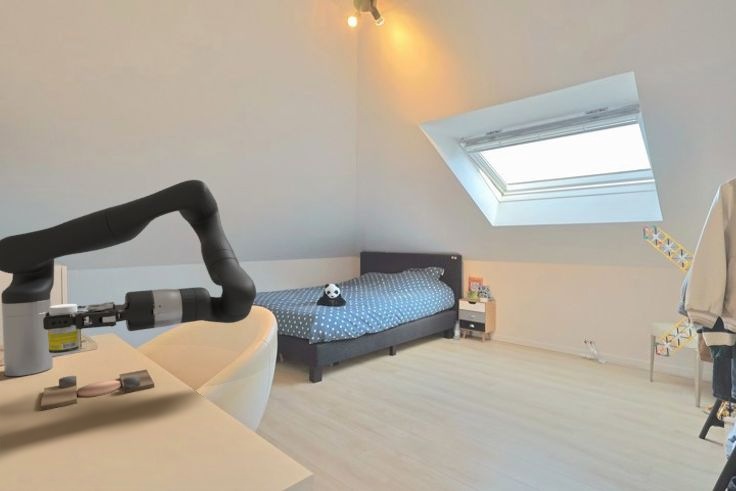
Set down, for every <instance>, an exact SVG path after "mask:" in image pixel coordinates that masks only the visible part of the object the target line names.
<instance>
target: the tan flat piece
mask: <svg viewBox="0 0 736 491" xmlns="http://www.w3.org/2000/svg"><path fill="white" fill-rule="evenodd" d="M118 377H119V380H103V381H98V382H97V381H96V382H94V383H93V382H92V383H88V384H86V385H84V386H81V387H79V388H78V384H77V383H78V382H77V376H76V375H69V376H63V377H60V378H59V379H58V384H57V385H53V386H48V387H44V389H43V392H42V393H43V394H42V398H41V403H40V405H39V406H40V409H39V410H40V411H45V410H49V409H55V408H59V407H63V406H70V405H75V404H77V402H78V401H77V400H78V398H77V396H78V397H84V398H86V397H87V398H89V397H98V396H103V395H107V394H111V393H113V392H115V391H119V390H120V389H123V393H124V394H128V393H132V392H137V391H143V390H148V389H153V388H155V382H154V381H153V378H152V377H151V374H150V373H149V371H148V370H147V369H143V370H136V371H132V372H125V373H121V374H119V376H118Z"/></svg>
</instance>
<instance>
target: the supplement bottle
mask: <svg viewBox="0 0 736 491" xmlns="http://www.w3.org/2000/svg"><path fill="white" fill-rule="evenodd" d="M77 307H78V304H77V303H63V304H56V305H51V307H49V314H50V315H51V316H53V315H63V314H70V316H71V313H74V312H77ZM82 342H83V341H82V329H76V328H72V325H71V327H66V328H58V329H49V330H48V343H49V354H50V355H52V356H54V357H55V356H56V357H57V356H58V357H59V356H66V355H72V354H76V353H78V352H81V350H82V349H83V344H82Z"/></svg>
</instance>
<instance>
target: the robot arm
mask: <svg viewBox="0 0 736 491" xmlns="http://www.w3.org/2000/svg"><path fill="white" fill-rule="evenodd" d="M173 212H179V214H180V216H181V217H182V218H183V219H184V220H185V221H187V223H188V224H189V225H190V228H192V229H193V231H194V232H195V234H196V236H197V238H198V241H199V243H200V253H201V257H202V260H203V263H204V266H205V269H206V271H207V273H208V275H209V278H210V279H211V282H212V283H214V285H217V286H219V287H221V291H222V292H221V295H220V296H218V297H217V296H211V294H210V292H209V290H208V289H207V288H204V287H201V286H200V287H198V286H197V287H186V288H185V287H184V288H183V287H182V288H161V289H149V290H137V291H136V290H135V291H128V292H126V293H125V296H124V303H123V304H115V302H113V301H105V302H104V303H96V304H94V303H93V304H87V305H77V312H74V313H71V316H70V314H63V315H53V316H51V315H50V314H49V307H51V306H52V303H51V302H52V301H51V292H52V290H53V287H54V284H55V259H58V258H61V257H64V256H70V255H71V256H72V255H77V254H82V253H83V254H84V253H88V252H96V251H98V250H99V251H100V250H105V249H107V248H110V247H114V246H118V245H120V244H123V243H124V244H125V243H127V242H129V241H132V240H133V239H135V238H137V237H138V236H139V234H141V233H142V232H143V231H144V230H145V228H147V226H148V225H149V224H150V223H151V222H153V221H154V220H155V219H158V218H159V217H161V216H164V215H167V214H171V213H173ZM0 272H3V273H7V274H11V275H12V279H11V282H10V284H8V286H7V287H6V288H5V289H4V290H2V292H1V313H2V314H1V316H2V319H1V320H2V342H3V346H2V347H3V368H4V376H6V377H19V376H29V375H34V374H38V373H41V372H45V371H48V370H50V369H52V368H53V367H54V366H53V365H54V358H53V356H52V355H50V354H49V343H48V330H49V329H58V328H66V327H71V325H72V328H76V329H81V330H82V329H94V328H104V327H105V328H107V327H115V326H117V323H118V322H119V323H120V322H124V321H125V326H126V329H127V331H128V332H136V331H144V330H151V329H157V328H158V329H159V328H164V327H170V326H174V325H180V324H184V323H192V322H201V321H204V322H210V323H221V324H222V323H224V324H231V323H232V324H233V323H234V324H235V323H237V322H240V321H241V322H242V321H243V320H245V319H246V318H247V317H248V316H249V314H250V313H251V311H252V308H253V306H254V302H255V300H256V296H257V289H256V288H257V287H256V285H255V282H254V280H253V278H252V277H250V275H249V274H248V273H247V271H245V270H244V268H243V267H242V266H241V264H240V262H239V261H238V259H237V256H236V254H235V252H234V249H233V248H232V246H231V244H230V242H229V240H228V238H227V235H225V231H224V229H223V226H222V221H221V216H220V211H219V206H218V203H217V201H216V199H215V196H214V195H213V193H212V192H211V190H210V189H209V187H208V186H207V184H206V183H205V182H204V181H202V180H199V179H188V180H184V181H181V182H179V183H175V184H173V185H171V186H169V187H166V188H163V189H161V190H159V191H155V192H154V193H151V194H149V195H146V196H143V197H140V198H136V199H134V200H130V201H128V202H125V203H122V204H117V205H114V206H110V207H107V208H103V209H100V210H97V211H94V212H91V213H88V214H85V215H82V216H78V217H76V218H73V219H70V220H68V221H64V222H62V223H59V224H57V225H54V226H51V227H47V228H43V229H41V230H40V229H39V230H36V231H35V230H34V231H30V232H25V233H19V234H14V235H9V236H5V237H4V238H2V239H0Z"/></svg>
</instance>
